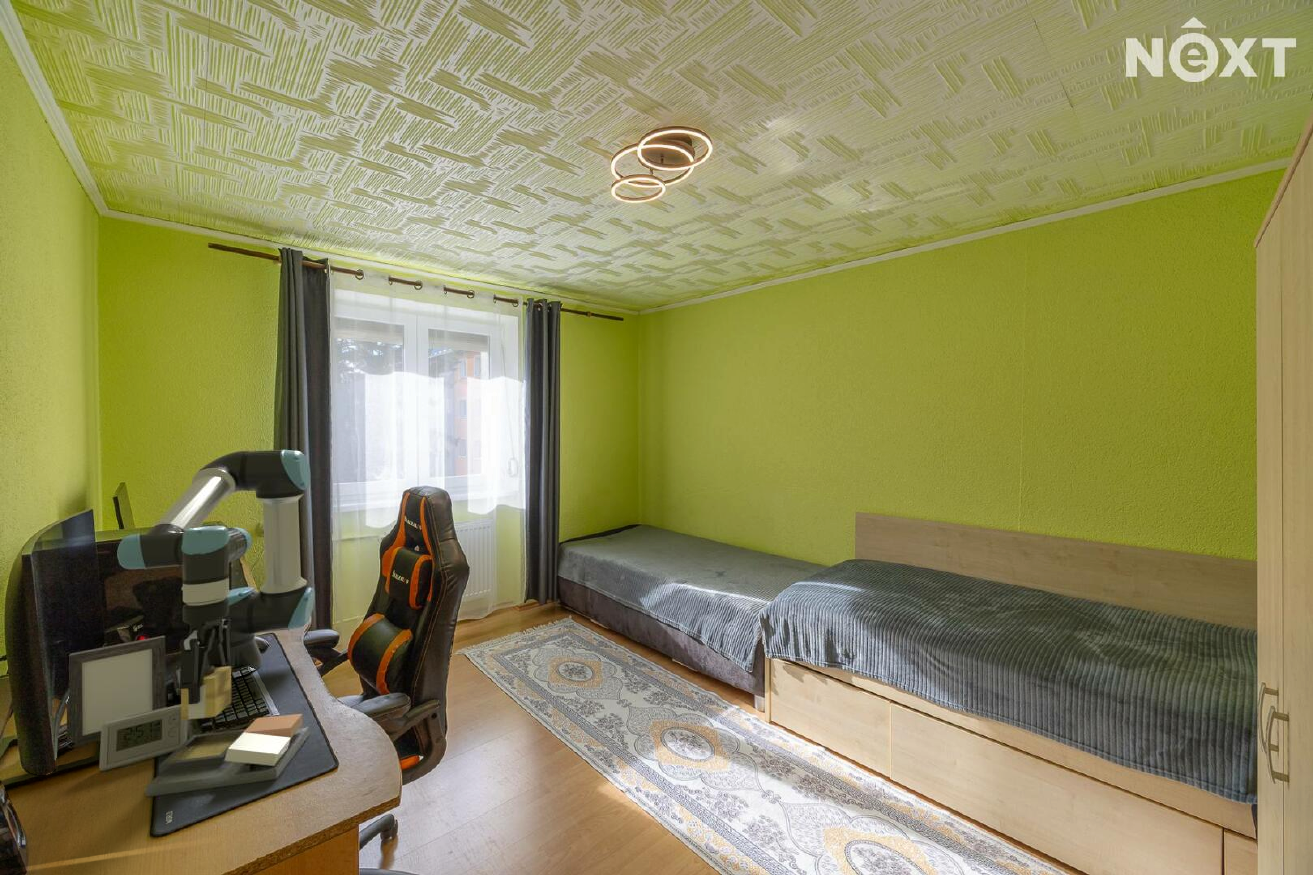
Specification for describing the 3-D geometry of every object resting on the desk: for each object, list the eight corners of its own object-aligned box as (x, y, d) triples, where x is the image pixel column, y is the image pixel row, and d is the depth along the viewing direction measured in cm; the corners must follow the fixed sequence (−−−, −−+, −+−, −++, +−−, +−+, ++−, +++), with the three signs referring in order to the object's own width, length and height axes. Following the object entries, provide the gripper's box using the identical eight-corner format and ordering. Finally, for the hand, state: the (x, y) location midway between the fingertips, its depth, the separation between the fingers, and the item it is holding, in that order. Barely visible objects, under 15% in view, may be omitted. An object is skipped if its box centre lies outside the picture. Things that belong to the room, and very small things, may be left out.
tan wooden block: (199, 706, 115) (198, 663, 115) (231, 702, 116) (231, 660, 116) (181, 720, 109) (181, 675, 109) (215, 716, 110) (215, 672, 110)
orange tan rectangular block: (257, 728, 119) (257, 717, 119) (302, 724, 121) (302, 713, 121) (243, 743, 113) (243, 732, 113) (290, 738, 115) (290, 727, 115)
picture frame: (66, 751, 117) (66, 656, 117) (68, 747, 118) (67, 653, 118) (165, 724, 128) (165, 637, 128) (165, 720, 129) (164, 634, 129)
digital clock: (94, 775, 109) (93, 730, 109) (111, 755, 115) (110, 713, 115) (182, 755, 115) (181, 714, 115) (193, 738, 122) (192, 698, 122)
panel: (194, 749, 117) (194, 733, 117) (309, 735, 122) (308, 720, 122) (143, 797, 102) (142, 778, 102) (276, 778, 107) (276, 761, 107)
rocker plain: (240, 743, 111) (244, 732, 111) (287, 748, 113) (290, 737, 113) (224, 760, 105) (228, 748, 106) (274, 765, 107) (277, 753, 108)
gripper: (212, 589, 121) (212, 690, 121) (154, 616, 102) (154, 735, 102) (249, 587, 123) (250, 687, 122) (199, 612, 104) (200, 730, 104)
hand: (206, 709), depth 112 cm, fingers closed on tan wooden block, 6 cm apart
